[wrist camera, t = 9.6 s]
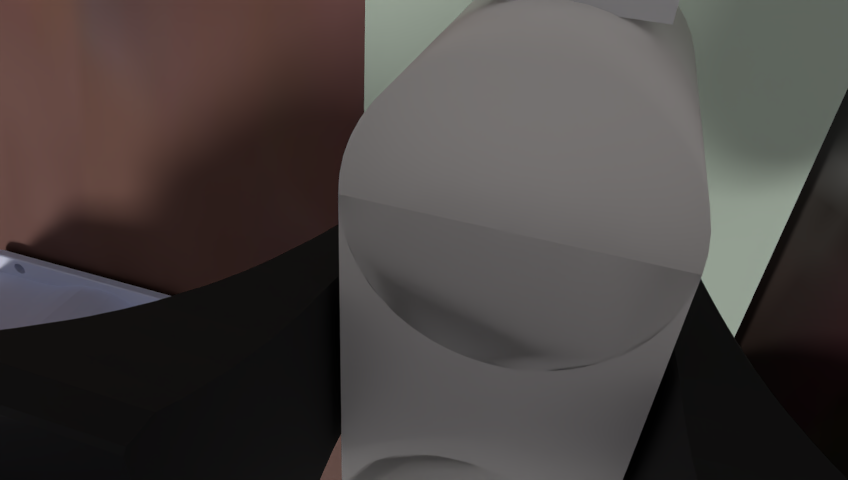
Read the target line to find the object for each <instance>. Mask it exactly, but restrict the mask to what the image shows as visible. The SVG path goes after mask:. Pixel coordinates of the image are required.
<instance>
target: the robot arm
mask: <svg viewBox="0 0 848 480" xmlns="http://www.w3.org/2000/svg"><path fill="white" fill-rule="evenodd" d="M340 435H341V368H340V295H339V224H338V225H337V226H335V227H333V228H331V229H329V230H328V231H326V232H324V233H322V234H321V235H319V236H317V237H315V238H313V239H311V240H309V241H307V242H305V243H303V244H301V245H299V246H297V247H295V248H293V249H291V250H289V251H287V252H285V253H283V254H281V255H279V256H277V257H275V258H273V259H271V260H269V261H267V262H265V263H263V264H260V265H258V266H256V267H253V268H251V269H249V270H246V271H244V272H241V273H239V274H236V275H233V276H231V277H228V278H226V279H223V280H220V281H218V282H215V283H212V284H209V285H206V286H203V287H200V288H196V289H193V290H190V291H187V292H183V293H180V294H177V295H173V296H170V295H166V294H163V293H159V292H155V291H152V290H148V289H144V288H141V287H137V286H133V285H130V284H126V283H122V282H119V281H115V280H112V279H108V278H104V277H101V276H97V275H93V274H90V273H86V272H82V271H79V270H75V269H72V268H68V267H64V266H61V265H57V264H53V263H50V262H46V261H42V260H39V259H35V258H31V257H28V256H24V255H21V254H17V253H13V252H10V251H6V250H0V480H320V478H321V475H322V473H323V471H324V469H325V466H326V464H327V462H328V460H329V457H330V455H331V453H332V450H333V448H334V446H335V444H336V442H337V440H338V439H339V437H340ZM623 480H848V479H847V478H846V477H845V476H844V475H843V474H842V473H841V472H840V471H839V470H838V469H837V468H836V467H835V466H834V465H833V464H832V463H831V462H830V461H829V459H828V458H827V457H826V456H825V455H824V454H823V453H822V452H821V451H820V450H819V449H818V448H817V446H816V445H815V444H814V443H813V442H812V441H811V440H810V438H809V437H808V436H807V435H806V434H805V433H804V431H803V430H802V429H801V428H800V427H799V426H798V424H797V423H796V422H795V421H794V420H793V419H792V417H791V416H790V415H789V414H788V413H787V411H786V410H785V409H784V408H783V407H782V405H781V404H780V403H779V401H778V400H777V399H776V398H775V396H774V395H773V394H772V392H771V391H770V390H769V388H768V387H767V386H766V384H765V383H764V381H763V380H762V379H761V377H760V376H759V374H758V373H757V372H756V370H755V369H754V367H753V366H752V364H751V363H750V361H749V360H748V358H747V357H746V355H745V354H744V352H743V351H742V349H741V347H740V346H739V344H738V343H737V341H736V339H735V338H734V336H733V335H732V333H731V331H730V330H729V328H728V326H727V325H726V323H725V321H724V320H723V318H722V316H721V314H720V313H719V311H718V309H717V307H716V306H715V304H714V302H713V300H712V298H711V297H710V295H709V293H708V291H707V289H706V287H705V285H704V283H703V281H702V280H701V279H700V282H699V285H698V287H697V290H696V292H695V295H694V297H693V300H692V303H691V305H690V308H689V310H688V313H687V316H686V318H685V321H684V323H683V326H682V328H681V331H680V334H679V336H678V339H677V341H676V344H675V346H674V349H673V352H672V354H671V357H670V359H669V362H668V364H667V367H666V370H665V372H664V375H663V377H662V380H661V383H660V385H659V388H658V390H657V393H656V395H655V398H654V401H653V403H652V406H651V408H650V411H649V413H648V416H647V419H646V421H645V424H644V426H643V429H642V432H641V434H640V437H639V439H638V442H637V444H636V447H635V450H634V452H633V455H632V457H631V460H630V462H629V465H628V468H627V470H626V473H625V475H624V478H623Z"/></svg>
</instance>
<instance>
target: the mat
mask: <svg viewBox="0 0 848 480" xmlns="http://www.w3.org/2000/svg"><path fill="white" fill-rule="evenodd" d="M473 1H474V0H365V75H364V113H365V111H366V110H367V109H368V107H369V106H370V105H371V104H372V102H373V101H374V100H375V99H376V98H377V97H378V96H379V95H380V94H381V93H382V92H383V91H384V90H385V89H386V88H387V87H388V86H389V85H390V84H391V83H392V82H393V81H394V80H395V79H396V78H397V77H398V76H399V75H400V74H401V73H402V72H403V71H404V70H405V69H406V68H407V67H408V66H409V65H410V64H411V63H412V62H413V61H414V60H415V59H416V58H417V57H418V56H419V55H420V54H421V53H422V52H423V51H424V50H425V49H426V48H427V47H428V46H429V45H430V44H431V43H432V42H433V41H434V40H435V39H436V38H437V37H438V36H439V35H440V34H441V33H442V32H443V31H444V30H445V29H446V28H447V27H448V26H449V25H450V24H451V23H452V22H453V21H454V20H455V19H456V18H457V17H458V16H459V15H460V14H461V13H462V12H463V11H464V10H465V9H466V8H467V7H468V6H469V5H470V4H471V3H472V2H473ZM678 6H679V8H680V9H681V11H682V13H683V15H684V17H685V19H686V21H687V24H688V27H689V30H690V32H691V35H692V40H693V45H694V50H695V60H696V70H697V80H698V91H699V101H700V111H701V121H702V131H703V141H704V151H705V162H706V172H707V182H708V192H709V202H710V217H711V237H710V245H709V253H708V257H707V260H706V264H705V267H704V271H703V274H702V277H701V280H702V281H703V283H704V285H705V287H706V289H707V291H708V293H709V295H710V297H711V298H712V300H713V302H714V304H715V306H716V307H717V309H718V311H719V313H720V314H721V316H722V318H723V320H724V321H725V323H726V325H727V326H728V328H729V330H730V331H731V333H732V335H733V336H734V337H735V335H736V333H737V330H738V328H739V326H740V324H741V322H742V320H743V317H744V315H745V313H746V311H747V309H748V306H749V304H750V302H751V300H752V298H753V295H754V293H755V291H756V289H757V287H758V284H759V282H760V280H761V278H762V276H763V273H764V271H765V269H766V267H767V265H768V262H769V260H770V258H771V256H772V254H773V251H774V249H775V247H776V245H777V243H778V240H779V238H780V236H781V234H782V232H783V229H784V227H785V225H786V223H787V221H788V218H789V216H790V214H791V212H792V210H793V207H794V205H795V203H796V201H797V199H798V196H799V194H800V192H801V190H802V188H803V185H804V183H805V181H806V179H807V177H808V174H809V172H810V170H811V168H812V166H813V163H814V161H815V159H816V157H817V155H818V153H819V150H820V148H821V146H822V144H823V142H824V139H825V137H826V135H827V133H828V131H829V128H830V126H831V124H832V122H833V120H834V117H835V115H836V113H837V111H838V109H839V106H840V104H841V102H842V100H843V98H844V95H845V93H846V91H847V89H848V0H679V4H678Z"/></svg>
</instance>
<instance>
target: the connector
mask: <svg viewBox="0 0 848 480" xmlns="http://www.w3.org/2000/svg"><path fill="white" fill-rule="evenodd" d="M678 4H679V0H474V1H473V2H472V3H471V4H470V5H469V6H468V7H467V8H466V9H465V10H464V11H463V12H462V13H461V14H460V15H459V16H458V17H457V18H456V19H455V20H454V21H453V22H452V23H451V24H450V25H449V26H448V27H447V28H446V29H445V30H444V31H443V32H442V33H441V34H440V35H439V36H438V37H437V38H436V39H435V40H434V41H433V42H432V43H431V44H430V45H429V46H428V47H427V48H426V49H425V50H424V51H423V52H422V53H421V54H420V55H419V56H418V57H417V58H416V59H415V60H414V61H413V62H412V63H411V64H410V65H409V66H408V67H407V68H406V69H405V70H404V71H403V72H402V73H401V74H400V75H399V76H398V77H397V78H396V79H395V80H394V81H393V82H392V83H391V84H390V85H389V86H388V87H387V88H386V89H385V90H384V91H383V92H382V93H381V94H380V95H379V96H378V97H377V98H376V99H375V100H374V101H373V102H372V104H371V105H370V106H369V107H368V109H367V110H366V111H365V113H364V114H363V115H362V116H361V118H360V119H359V121H358V123H357V125H356V127H355V128H354V130H353V132H352V134H351V136H350V138H349V141H348V144H347V146H346V149H345V152H344V154H343V159H342V164H341V168H340V173H339V188H338V221H339V295H340V368H341V442H342V480H623V478H624V475H625V473H626V470H627V468H628V465H629V462H630V460H631V457H632V455H633V452H634V450H635V447H636V444H637V442H638V439H639V437H640V434H641V432H642V429H643V426H644V424H645V421H646V419H647V416H648V413H649V411H650V408H651V406H652V403H653V401H654V398H655V395H656V393H657V390H658V388H659V385H660V383H661V380H662V377H663V375H664V372H665V370H666V367H667V364H668V362H669V359H670V357H671V354H672V352H673V349H674V346H675V344H676V341H677V339H678V336H679V334H680V331H681V328H682V326H683V323H684V321H685V318H686V316H687V313H688V310H689V308H690V305H691V303H692V300H693V297H694V295H695V292H696V290H697V287H698V285H699V282H700V279H701V277H702V274H703V271H704V267H705V264H706V260H707V257H708V253H709V245H710V237H711V217H710V202H709V192H708V182H707V172H706V162H705V151H704V141H703V131H702V121H701V111H700V101H699V91H698V80H697V70H696V60H695V50H694V45H693V40H692V35H691V32H690V30H689V27H688V24H687V21H686V19H685V17H684V15H683V13H682V11H681V9H680V8H679V6H678Z"/></svg>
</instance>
